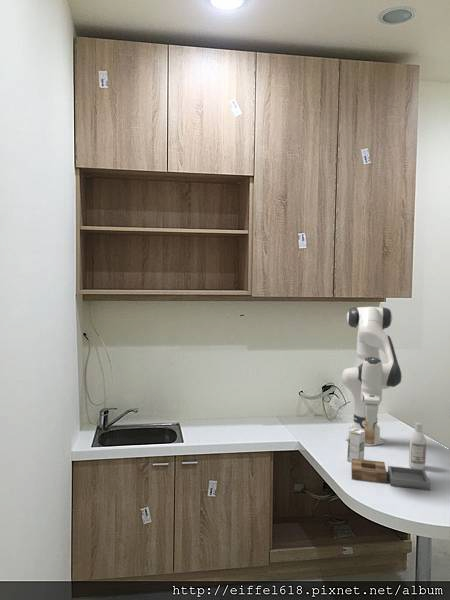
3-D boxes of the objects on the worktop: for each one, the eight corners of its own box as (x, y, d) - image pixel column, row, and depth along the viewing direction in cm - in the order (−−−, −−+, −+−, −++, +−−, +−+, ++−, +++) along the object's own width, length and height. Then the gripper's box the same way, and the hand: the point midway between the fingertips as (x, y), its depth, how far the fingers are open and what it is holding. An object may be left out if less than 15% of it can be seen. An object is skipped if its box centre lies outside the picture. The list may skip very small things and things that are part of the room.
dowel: (364, 440, 218) (365, 409, 217) (374, 441, 217) (375, 409, 217) (364, 443, 214) (366, 411, 214) (374, 444, 213) (375, 412, 213)
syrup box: (352, 457, 237) (353, 427, 236) (364, 461, 233) (365, 430, 233) (347, 461, 232) (348, 430, 232) (359, 464, 229) (360, 432, 228)
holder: (351, 467, 224) (351, 458, 224) (383, 470, 221) (384, 462, 221) (351, 479, 211) (352, 469, 211) (386, 483, 208) (386, 473, 207)
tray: (387, 472, 219) (388, 465, 219) (424, 476, 216) (424, 469, 216) (390, 485, 205) (390, 478, 205) (429, 490, 201) (430, 483, 201)
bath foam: (427, 469, 224) (429, 425, 223) (412, 469, 224) (414, 425, 223) (420, 464, 231) (422, 421, 230) (406, 464, 231) (408, 421, 230)
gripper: (362, 390, 226) (361, 420, 226) (364, 400, 206) (363, 433, 206) (377, 391, 224) (376, 421, 225) (380, 401, 204) (379, 435, 205)
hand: (370, 427), depth 215 cm, fingers closed on dowel, 4 cm apart
